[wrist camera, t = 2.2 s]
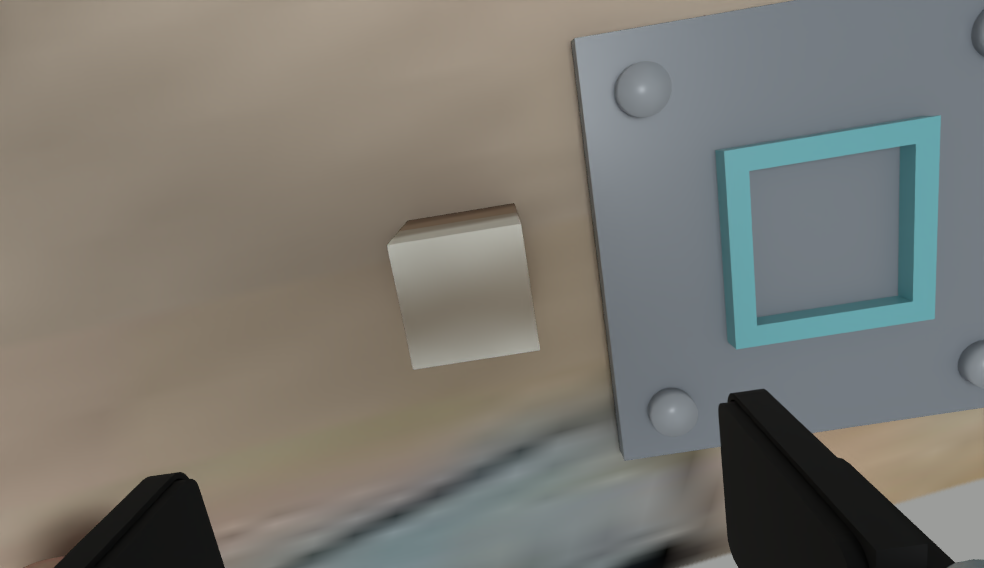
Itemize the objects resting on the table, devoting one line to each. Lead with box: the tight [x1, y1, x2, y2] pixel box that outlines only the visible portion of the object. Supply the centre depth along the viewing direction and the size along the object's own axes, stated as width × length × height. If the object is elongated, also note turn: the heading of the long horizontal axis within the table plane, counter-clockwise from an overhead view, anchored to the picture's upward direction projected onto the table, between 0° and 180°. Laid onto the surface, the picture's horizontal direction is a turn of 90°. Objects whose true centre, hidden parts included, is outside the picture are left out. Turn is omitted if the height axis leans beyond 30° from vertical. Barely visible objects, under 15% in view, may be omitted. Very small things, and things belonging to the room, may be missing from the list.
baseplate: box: [571, 0, 984, 461], centre depth 27 cm, size 20×20×2 cm
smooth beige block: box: [387, 203, 540, 370], centre depth 25 cm, size 5×5×6 cm
